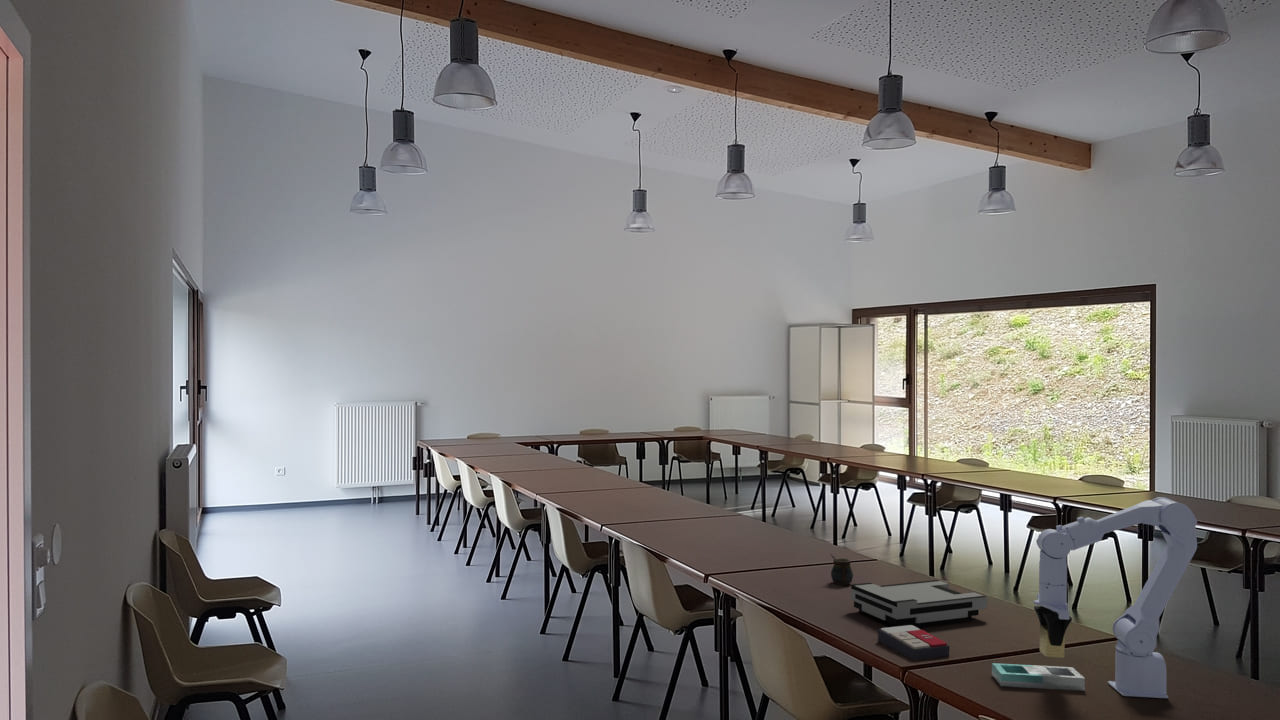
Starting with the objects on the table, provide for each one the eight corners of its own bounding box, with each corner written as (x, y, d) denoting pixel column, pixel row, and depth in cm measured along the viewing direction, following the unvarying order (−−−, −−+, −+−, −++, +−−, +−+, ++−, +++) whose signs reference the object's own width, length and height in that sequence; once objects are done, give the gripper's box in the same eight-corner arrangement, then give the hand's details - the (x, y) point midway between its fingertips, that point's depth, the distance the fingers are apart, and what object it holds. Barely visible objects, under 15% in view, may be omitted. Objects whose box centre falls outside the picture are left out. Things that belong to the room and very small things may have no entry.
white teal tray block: (1072, 679, 195) (1072, 667, 195) (1084, 690, 188) (1084, 678, 188) (991, 675, 197) (992, 663, 197) (1001, 686, 190) (1001, 673, 190)
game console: (987, 621, 241) (987, 592, 241) (896, 632, 229) (897, 602, 229) (936, 602, 260) (936, 576, 261) (850, 612, 249) (851, 584, 249)
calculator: (914, 647, 207) (877, 626, 221) (913, 664, 207) (877, 642, 221) (950, 642, 210) (912, 622, 224) (949, 659, 210) (911, 638, 224)
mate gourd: (855, 586, 277) (855, 556, 277) (832, 586, 277) (832, 556, 277) (850, 581, 284) (850, 551, 285) (828, 580, 285) (828, 551, 285)
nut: (1057, 651, 194) (1058, 625, 194) (1064, 657, 190) (1064, 631, 190) (1039, 650, 194) (1040, 624, 195) (1045, 656, 190) (1046, 630, 191)
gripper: (1024, 574, 200) (1023, 631, 200) (1046, 590, 186) (1045, 651, 186) (1055, 575, 199) (1054, 632, 199) (1079, 591, 185) (1078, 653, 185)
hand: (1052, 642), depth 192 cm, fingers closed on nut, 4 cm apart
